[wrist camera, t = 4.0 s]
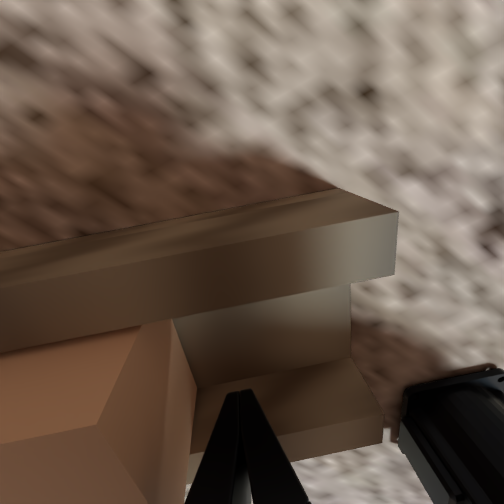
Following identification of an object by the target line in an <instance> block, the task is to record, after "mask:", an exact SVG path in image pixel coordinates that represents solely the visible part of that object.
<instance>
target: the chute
mask: <svg viewBox="0 0 504 504" xmlns="http://www.w3.org/2000/svg"><path fill="white" fill-rule="evenodd" d="M398 217H399V212H398V211H396V210H393V209H391V208H388V207H386V206H383V205H381V204H378V203H376V202H373V201H370V200H368V199H365V198H363V197H360V196H358V195H355V194H353V193H350V192H348V191H345V190H342V189H340V188H337V189H331V190H326V191H321V192H315V193H310V194H305V195H299V196H294V197H289V198H284V199H278V200H273V201H268V202H262V203H257V204H252V205H247V206H241V207H236V208H231V209H225V210H220V211H215V212H209V213H204V214H199V215H194V216H188V217H183V218H178V219H172V220H167V221H162V222H156V223H151V224H146V225H141V226H135V227H130V228H125V229H119V230H114V231H109V232H104V233H98V234H93V235H88V236H82V237H77V238H72V239H66V240H61V241H56V242H51V243H45V244H40V245H35V246H29V247H24V248H19V249H13V250H8V251H3V252H0V353H2V352H7V351H12V350H17V349H22V348H27V347H32V346H37V345H42V344H47V343H52V342H57V341H62V340H67V339H72V338H77V337H82V336H88V335H93V334H98V333H103V332H108V331H113V330H118V329H123V328H128V327H133V326H138V325H143V324H148V323H153V322H158V321H163V320H169V319H172V321H173V324H174V326H175V329H176V332H177V335H178V337H179V340H180V343H181V345H182V348H183V351H184V354H185V356H186V359H187V362H188V364H189V367H190V370H191V373H192V375H193V378H194V381H195V383H196V386H197V393H196V402H195V411H194V419H193V428H192V437H191V445H190V454H189V463H188V471H187V480H186V484H191V483H193V480H194V477H195V475H196V472H197V470H198V467H199V464H200V462H201V459H202V456H203V454H204V451H205V449H206V446H207V443H208V441H209V438H210V436H211V433H212V430H213V428H214V425H215V422H216V420H217V417H218V415H219V412H220V409H221V407H222V404H223V401H224V399H225V396H226V394H227V393H228V392H233V391H239V392H240V391H241V390H243V389H248V388H251V389H252V390H253V392H254V394H255V396H256V397H257V399H258V401H259V403H260V405H261V407H262V409H263V411H264V413H265V415H266V417H267V419H268V421H269V423H270V425H271V427H272V428H273V430H274V432H275V434H276V436H277V438H278V440H279V442H280V444H281V446H282V448H283V450H284V452H285V454H286V456H287V458H288V460H289V461H290V462H294V461H299V460H304V459H309V458H313V457H318V456H323V455H327V454H332V453H337V452H341V451H346V450H351V449H356V448H360V447H365V446H370V445H374V444H379V443H382V439H383V425H384V412H383V411H382V409H381V407H380V406H379V404H378V402H377V400H376V399H375V397H374V395H373V394H372V392H371V390H370V389H369V387H368V385H367V383H366V382H365V380H364V378H363V377H362V375H361V373H360V372H359V370H358V368H357V366H356V365H355V363H354V361H353V360H352V358H351V291H350V284H351V283H356V282H361V281H366V280H371V279H376V278H381V277H386V276H391V275H394V272H395V258H396V245H397V231H398Z"/></svg>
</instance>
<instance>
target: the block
mask: <svg viewBox="0 0 504 504" xmlns="http://www.w3.org/2000/svg"><path fill="white" fill-rule="evenodd" d="M196 393H197V386H196V383H195V381H194V378H193V375H192V373H191V370H190V367H189V364H188V362H187V359H186V356H185V354H184V351H183V348H182V345H181V343H180V340H179V337H178V335H177V332H176V329H175V326H174V324H173V321H172V319H169V320H163V321H158V322H153V323H148V324H143V325H138V326H133V327H128V328H123V329H118V330H113V331H108V332H103V333H98V334H93V335H88V336H82V337H77V338H72V339H67V340H62V341H57V342H52V343H47V344H42V345H37V346H32V347H27V348H22V349H17V350H12V351H7V352H2V353H0V504H184V497H185V489H186V480H187V471H188V463H189V454H190V445H191V437H192V428H193V419H194V411H195V402H196Z"/></svg>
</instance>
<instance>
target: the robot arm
mask: <svg viewBox="0 0 504 504" xmlns="http://www.w3.org/2000/svg"><path fill="white" fill-rule="evenodd" d="M398 447H399V449H400V450H401V452H402V453H403V454H405V455H406V457H407V459H408V460H409V462H410V464H411V465H412V467H413V469H414V471H415V472H416V474H417V476H418V478H419V479H420V481H421V483H422V484H423V486H424V488H425V490H426V491H427V493H428V495H429V497H430V498H431V500H432V502H433V504H504V370H502V369H500V368H497V369H492V370H487V371H483V372H478V373H473V374H468V375H463V376H459V377H454V378H449V379H444V380H439V381H435V382H430V383H425V384H420V385H415V386H411V387H409V388H407V389H406V390H405V391H404V396H403V404H402V413H401V422H400V431H399V439H398ZM251 493H252V499H253V504H311V502H310V501H309V499H308V496H307V494H306V492H305V491H304V489H303V487H302V485H301V483H300V481H299V479H298V477H297V475H296V473H295V471H294V469H293V467H292V465H291V463H290V461H289V460H288V458H287V456H286V454H285V452H284V450H283V448H282V446H281V444H280V442H279V440H278V438H277V436H276V434H275V432H274V430H273V428H272V427H271V425H270V423H269V421H268V419H267V417H266V415H265V413H264V411H263V409H262V407H261V405H260V403H259V401H258V399H257V397H256V396H255V394H254V392H253V390H252V389H251V388H248V389H243V390H241V391H240V392H239V391H233V392H228V393H227V394H226V396H225V399H224V401H223V404H222V407H221V409H220V412H219V415H218V417H217V420H216V422H215V425H214V428H213V430H212V433H211V436H210V438H209V441H208V443H207V446H206V449H205V451H204V454H203V456H202V459H201V462H200V464H199V467H198V470H197V472H196V475H195V477H194V480H193V483H192V485H191V488H190V491H189V493H188V496H187V498H186V501H185V504H251Z"/></svg>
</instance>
